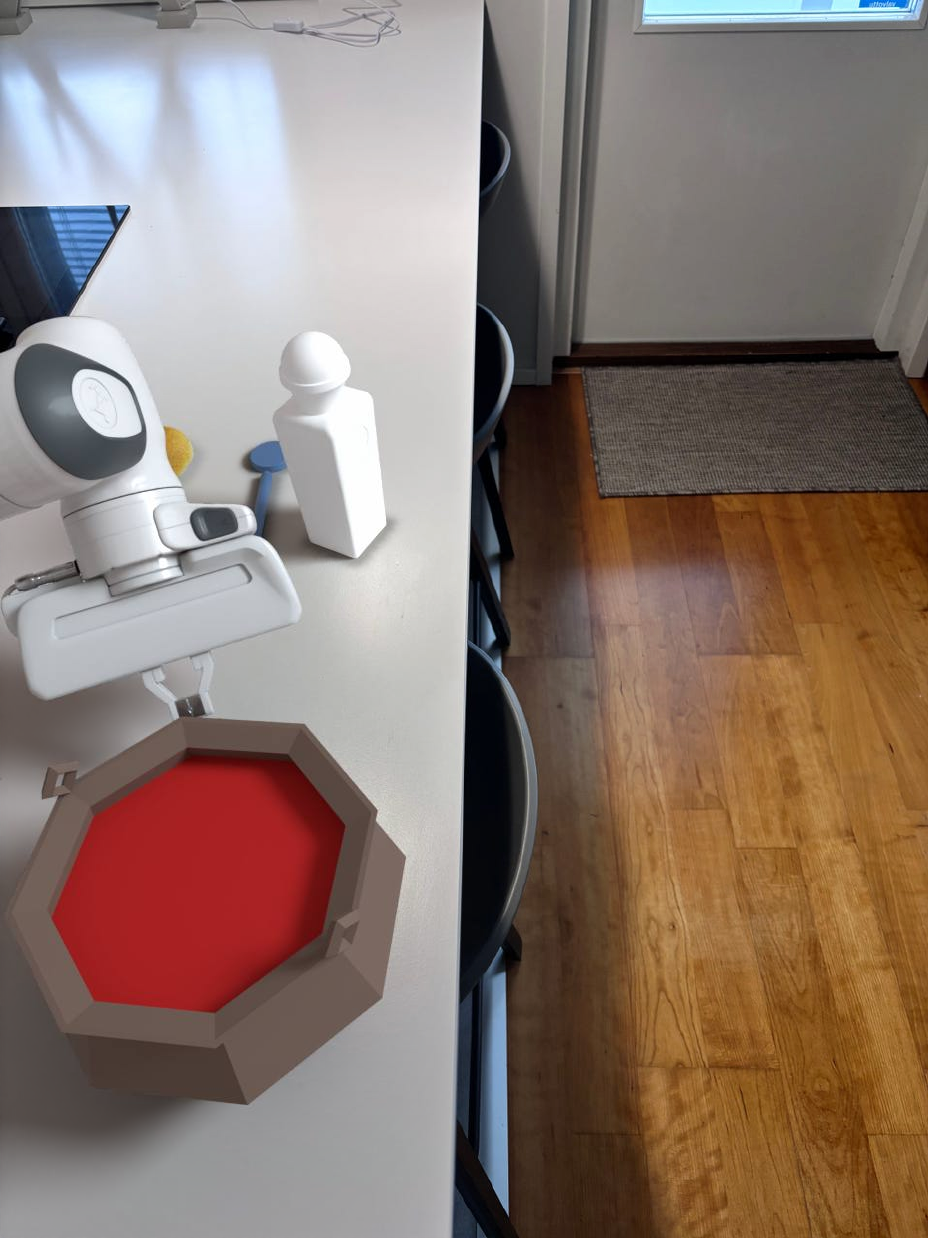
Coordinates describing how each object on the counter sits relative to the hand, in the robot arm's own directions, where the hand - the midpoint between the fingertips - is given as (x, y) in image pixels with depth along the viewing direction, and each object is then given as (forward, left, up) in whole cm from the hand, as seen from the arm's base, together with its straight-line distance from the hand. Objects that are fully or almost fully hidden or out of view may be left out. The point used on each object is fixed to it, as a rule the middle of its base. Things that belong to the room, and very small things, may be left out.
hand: (195, 719), depth 71 cm
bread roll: (-20, +36, -7) cm, 42 cm away
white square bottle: (+4, +28, -7) cm, 29 cm away
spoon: (-6, +32, -7) cm, 33 cm away
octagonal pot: (+7, -14, -7) cm, 18 cm away
